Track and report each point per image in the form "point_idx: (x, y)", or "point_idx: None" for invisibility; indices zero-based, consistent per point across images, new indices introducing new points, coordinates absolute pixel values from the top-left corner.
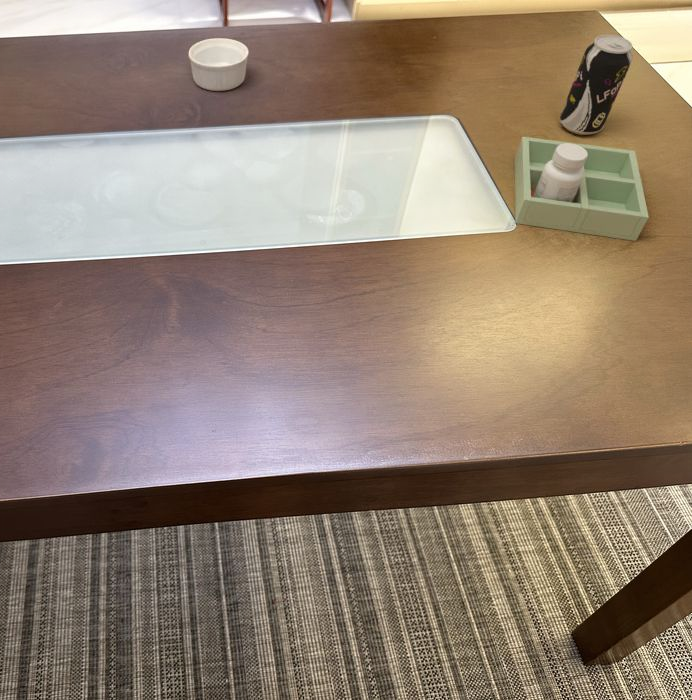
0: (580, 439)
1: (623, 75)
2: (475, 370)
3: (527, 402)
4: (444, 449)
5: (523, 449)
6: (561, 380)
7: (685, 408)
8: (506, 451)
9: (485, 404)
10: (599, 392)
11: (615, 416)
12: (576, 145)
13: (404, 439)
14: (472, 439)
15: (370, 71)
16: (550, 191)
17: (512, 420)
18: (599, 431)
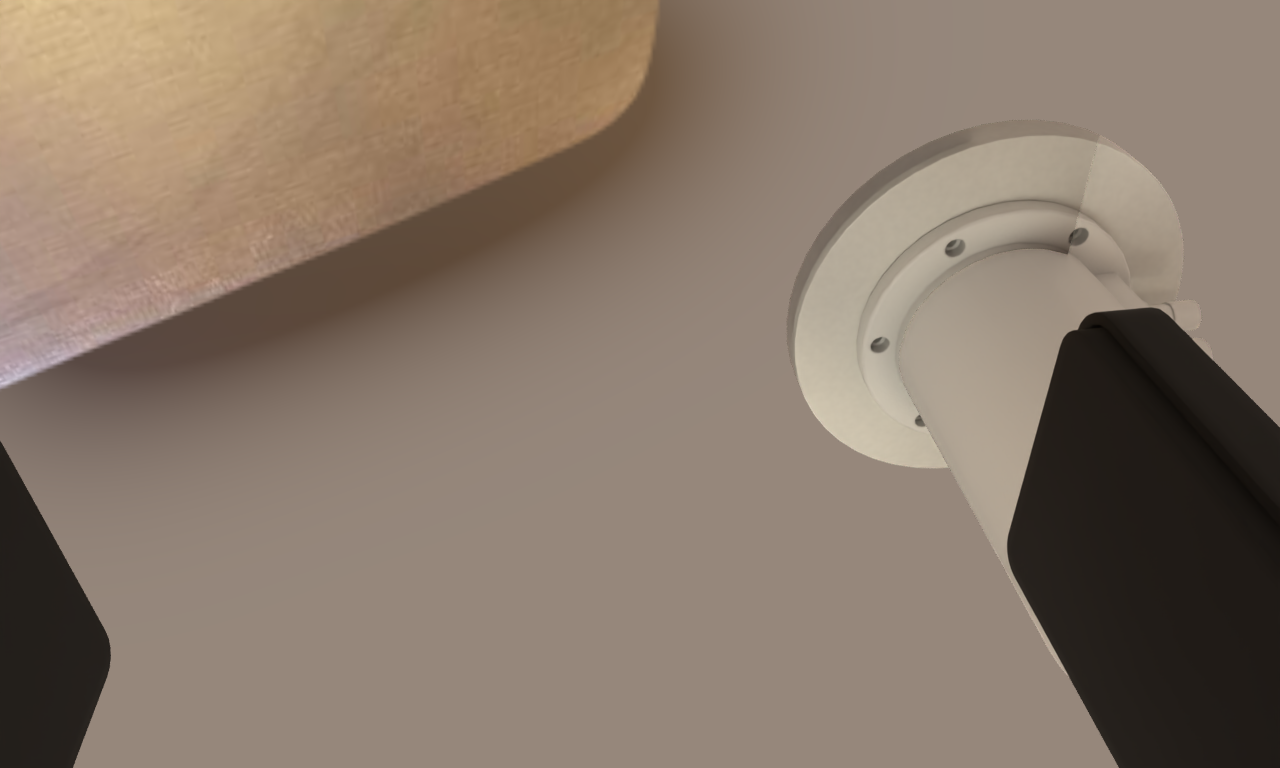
0: (402, 194)
1: None
2: (81, 52)
3: (254, 123)
4: (113, 315)
5: (281, 261)
6: (325, 13)
7: (657, 11)
8: (246, 277)
9: (153, 163)
10: (433, 25)
11: (479, 97)
12: None
13: (15, 319)
14: (162, 271)
15: None
16: None
17: (234, 191)
18: (443, 157)
